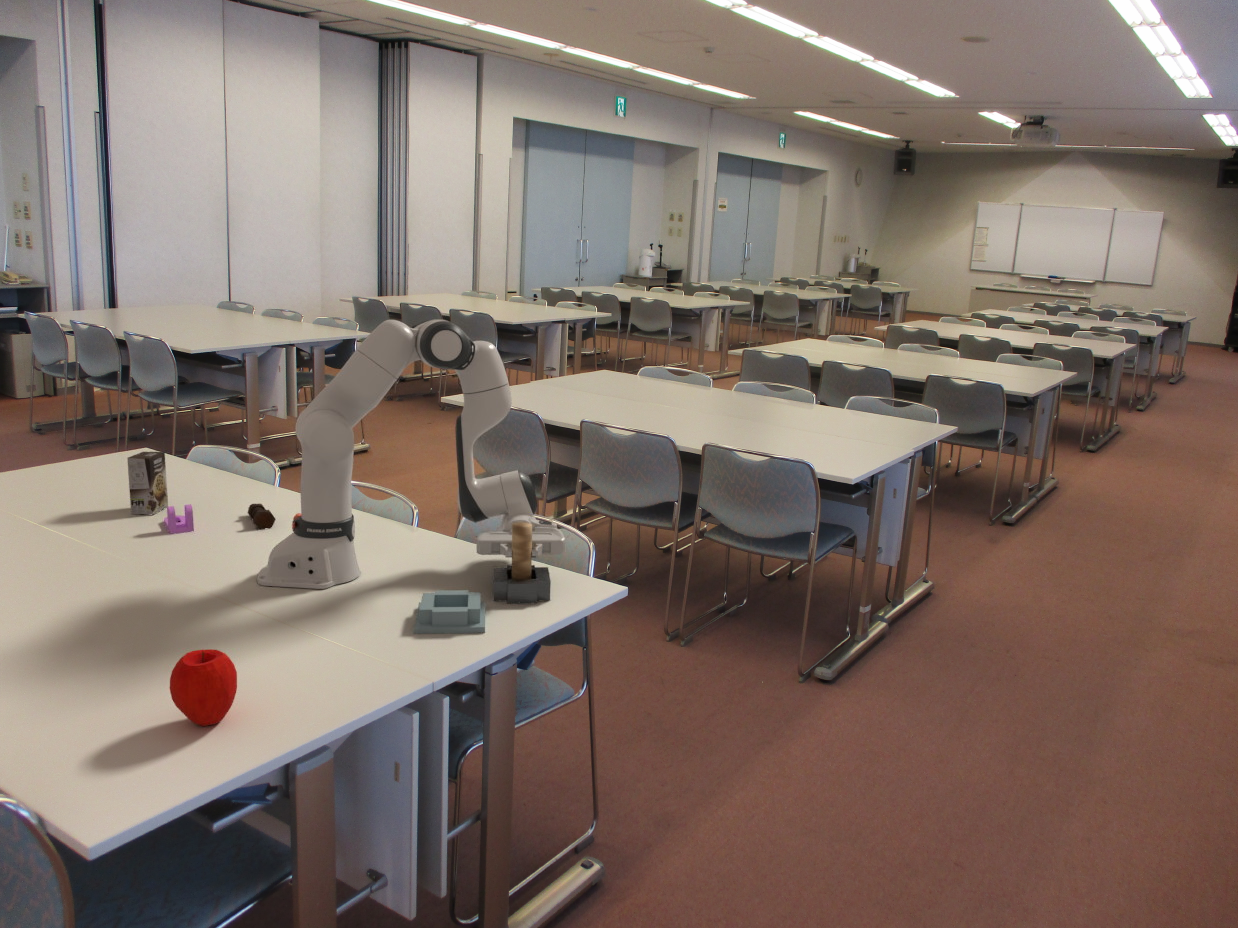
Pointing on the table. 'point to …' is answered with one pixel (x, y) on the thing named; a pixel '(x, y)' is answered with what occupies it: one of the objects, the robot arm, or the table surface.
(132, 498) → the cookie box
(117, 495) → the table surface
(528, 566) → the oak axle
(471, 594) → the teal cradle
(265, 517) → the bolt
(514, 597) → the steel bore block
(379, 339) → the robot arm
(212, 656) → the apple
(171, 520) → the bracket
